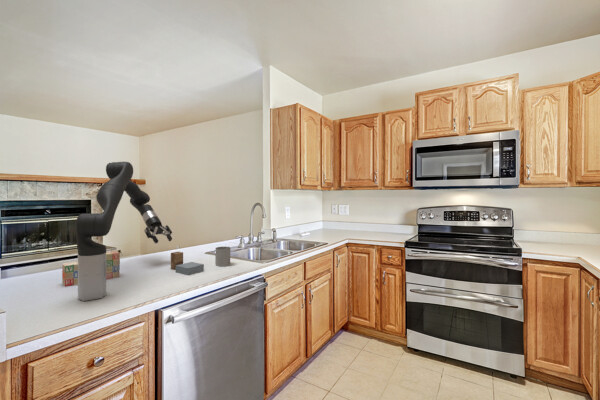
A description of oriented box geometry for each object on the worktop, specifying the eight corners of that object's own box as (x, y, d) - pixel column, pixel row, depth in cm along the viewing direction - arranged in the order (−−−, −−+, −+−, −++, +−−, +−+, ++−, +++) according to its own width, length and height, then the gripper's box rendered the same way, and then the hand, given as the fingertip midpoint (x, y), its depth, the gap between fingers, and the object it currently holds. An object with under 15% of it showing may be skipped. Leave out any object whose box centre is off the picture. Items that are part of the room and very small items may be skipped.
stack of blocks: (64, 287, 127) (64, 259, 127) (62, 283, 131) (62, 256, 131) (119, 277, 143) (119, 252, 142) (116, 274, 147) (116, 250, 147)
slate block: (203, 271, 155) (203, 264, 155) (187, 276, 147) (187, 268, 147) (191, 268, 161) (191, 261, 160) (175, 273, 152) (175, 265, 152)
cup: (233, 264, 171) (233, 247, 170) (222, 267, 164) (222, 249, 163) (223, 262, 175) (223, 246, 175) (212, 265, 168) (212, 248, 168)
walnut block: (183, 268, 160) (183, 252, 160) (176, 270, 156) (176, 253, 156) (177, 267, 162) (177, 251, 162) (170, 269, 158) (170, 252, 158)
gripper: (142, 216, 162) (155, 238, 156) (165, 215, 174) (178, 235, 169) (137, 225, 165) (149, 247, 159) (160, 223, 177) (172, 243, 172)
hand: (164, 241), depth 164 cm, fingers open, 8 cm apart
